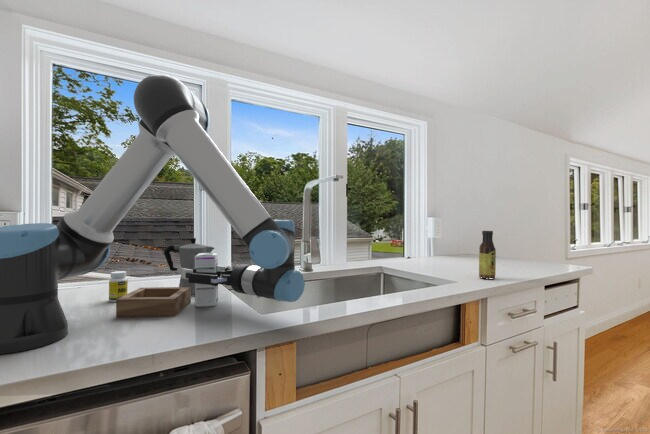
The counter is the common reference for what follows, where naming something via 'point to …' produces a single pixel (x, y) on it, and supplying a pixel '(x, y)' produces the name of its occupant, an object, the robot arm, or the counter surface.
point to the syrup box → (203, 292)
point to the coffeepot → (186, 259)
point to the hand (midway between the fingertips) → (196, 271)
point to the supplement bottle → (117, 285)
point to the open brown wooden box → (153, 302)
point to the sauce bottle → (487, 256)
